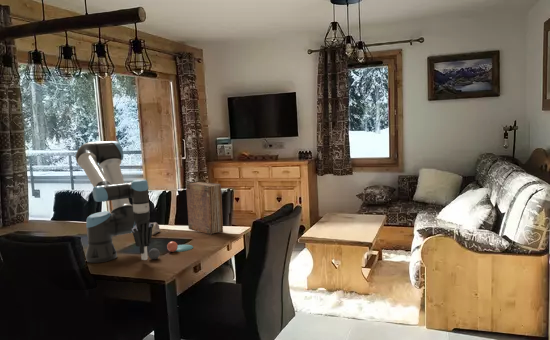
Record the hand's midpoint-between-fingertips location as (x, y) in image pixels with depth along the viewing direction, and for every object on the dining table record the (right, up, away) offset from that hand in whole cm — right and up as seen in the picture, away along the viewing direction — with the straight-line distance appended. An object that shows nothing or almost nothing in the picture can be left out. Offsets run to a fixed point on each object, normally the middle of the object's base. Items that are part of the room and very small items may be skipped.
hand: (144, 259), depth 219 cm
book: (+20, +5, +64) cm, 67 cm away
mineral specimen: (-13, +4, +62) cm, 64 cm away
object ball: (+9, +3, +18) cm, 21 cm away
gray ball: (+3, +2, +6) cm, 7 cm away
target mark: (+13, +1, +25) cm, 28 cm away
